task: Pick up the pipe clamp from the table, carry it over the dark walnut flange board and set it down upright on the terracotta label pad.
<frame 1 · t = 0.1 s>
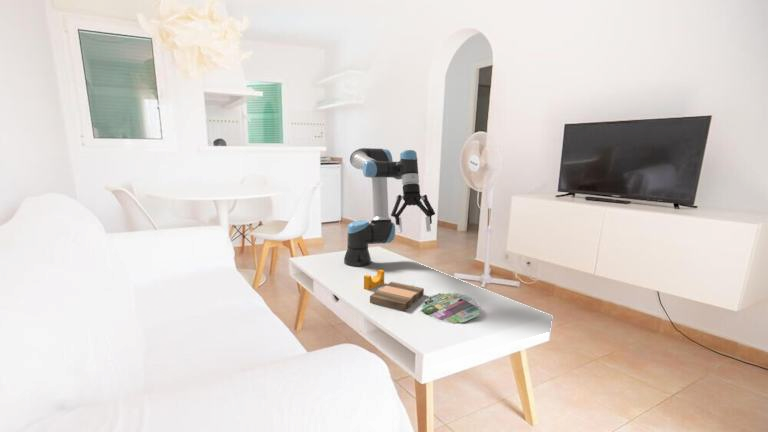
hand: (414, 231, 163), 28 cm above the table, tool tilted 20°, fingers open, 13 cm apart
city model: (448, 311, 150), on the table
pipe clamp: (372, 286, 175), on the table
flange board: (397, 298, 160), on the table
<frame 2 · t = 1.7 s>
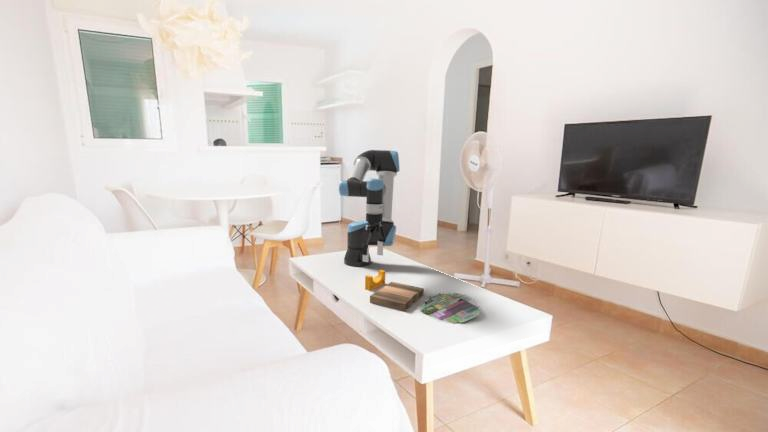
hand: (373, 258, 172), 13 cm above the table, tool pointing down, fingers open, 13 cm apart
nothing on the table moved.
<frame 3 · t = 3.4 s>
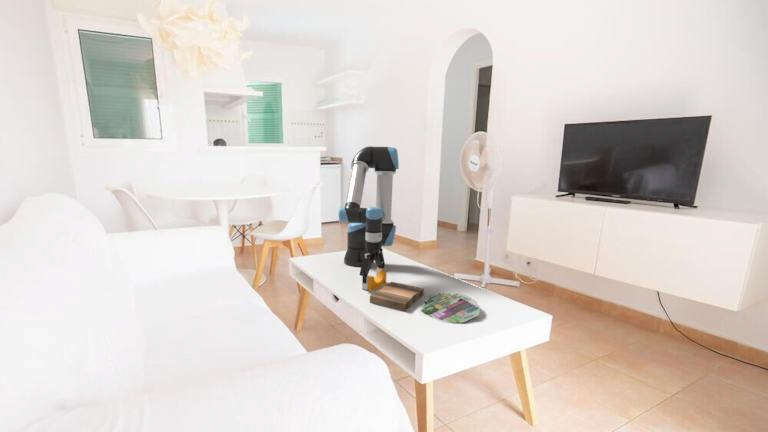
hand: (372, 285, 175), 0 cm above the table, tool pointing down, fingers open, 12 cm apart
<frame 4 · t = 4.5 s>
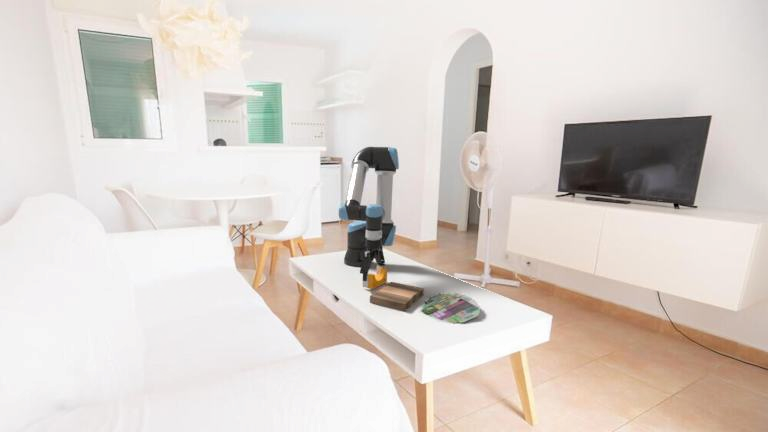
hand: (372, 282, 175), 1 cm above the table, tool pointing down, fingers closed on pipe clamp, 12 cm apart
pipe clamp: (375, 284, 174), point 1 cm above the table, touching gripper
everything else where it was.
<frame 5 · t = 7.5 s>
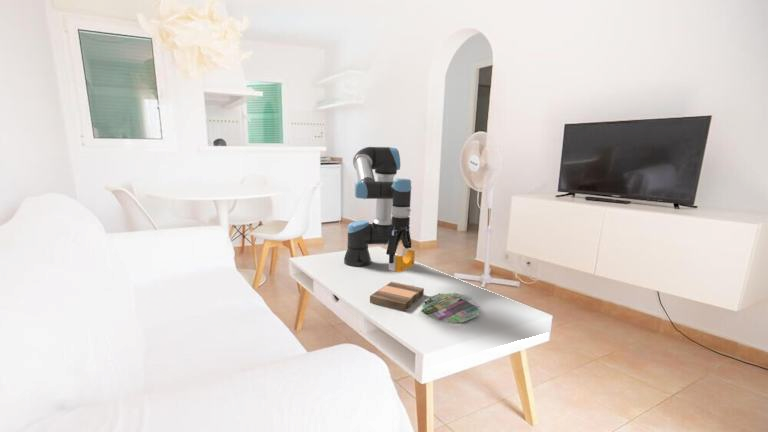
hand: (398, 266, 158), 14 cm above the table, tool pointing down, fingers closed on pipe clamp, 12 cm apart
pipe clamp: (402, 268, 157), point 14 cm above the table, touching gripper
everything else where it was.
when the fingers open (5 cm above the table, at t = 10.2 s): pipe clamp drops 1 cm, resting on flange board.
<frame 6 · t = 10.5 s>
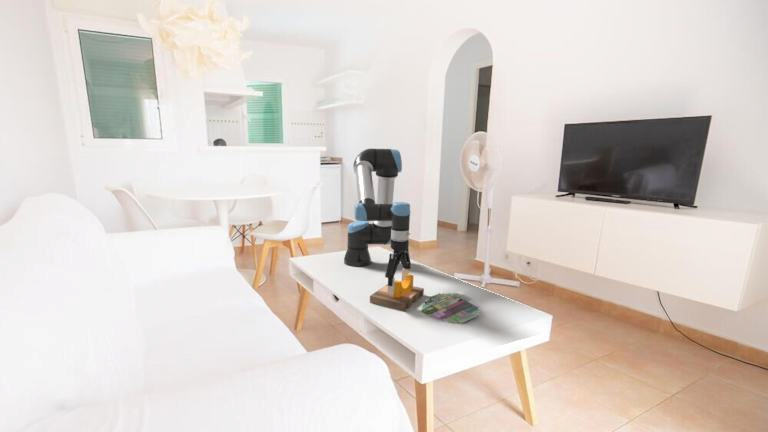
hand: (397, 287, 159), 5 cm above the table, tool pointing down, fingers open, 13 cm apart
pipe clamp: (401, 292, 159), point 3 cm above the table, touching flange board
everything else where it was.
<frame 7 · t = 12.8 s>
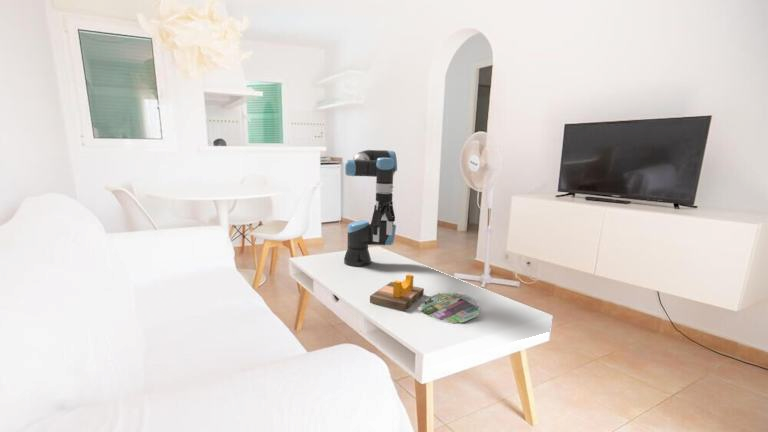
hand: (382, 238, 172), 23 cm above the table, tool pointing down, fingers open, 13 cm apart
nothing on the table moved.
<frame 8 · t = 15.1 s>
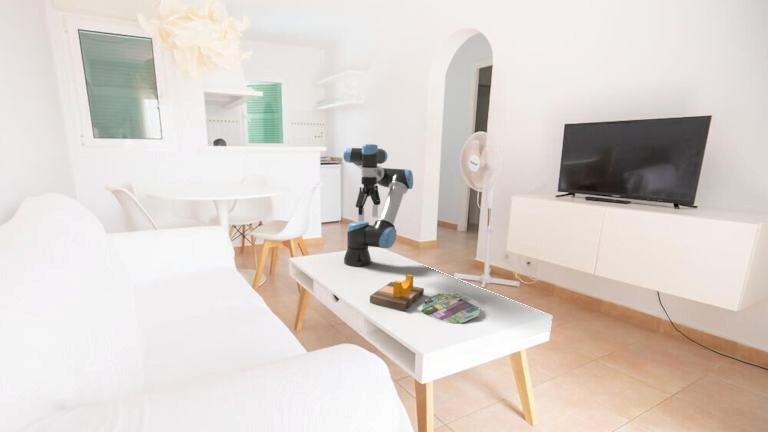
hand: (368, 219, 185), 29 cm above the table, tool pointing down, fingers open, 13 cm apart
nothing on the table moved.
at the end: pipe clamp inside the target area on the flange board (1.8 cm from its centre), point 3.0 cm above the flange board's base; pipe clamp tilted 0°; the gripper is holding nothing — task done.
